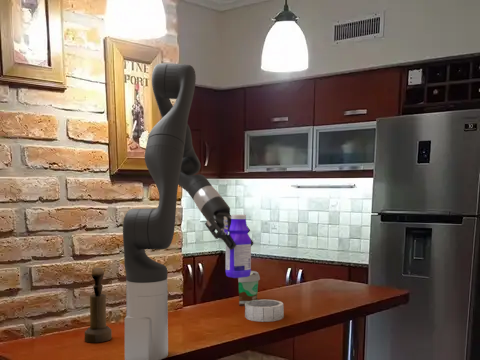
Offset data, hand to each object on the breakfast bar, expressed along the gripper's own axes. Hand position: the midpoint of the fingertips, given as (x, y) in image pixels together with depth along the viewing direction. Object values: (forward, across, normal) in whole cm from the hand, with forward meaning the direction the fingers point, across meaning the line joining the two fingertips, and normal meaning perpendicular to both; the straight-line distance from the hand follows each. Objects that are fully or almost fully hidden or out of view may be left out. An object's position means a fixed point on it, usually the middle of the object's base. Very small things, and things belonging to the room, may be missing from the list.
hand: (242, 246), depth 142 cm
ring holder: (+14, +12, +16) cm, 24 cm away
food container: (+4, +24, +26) cm, 36 cm away
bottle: (+5, 0, +7) cm, 9 cm away
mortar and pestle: (+1, -32, +31) cm, 45 cm away
